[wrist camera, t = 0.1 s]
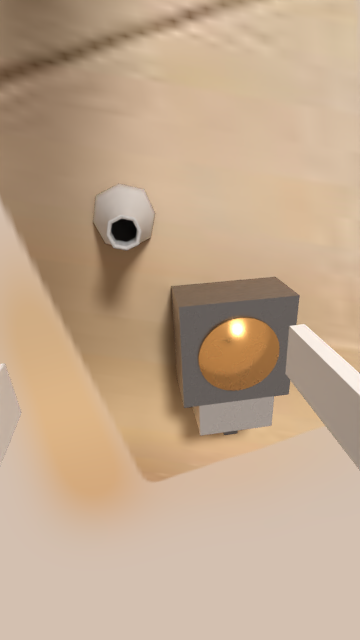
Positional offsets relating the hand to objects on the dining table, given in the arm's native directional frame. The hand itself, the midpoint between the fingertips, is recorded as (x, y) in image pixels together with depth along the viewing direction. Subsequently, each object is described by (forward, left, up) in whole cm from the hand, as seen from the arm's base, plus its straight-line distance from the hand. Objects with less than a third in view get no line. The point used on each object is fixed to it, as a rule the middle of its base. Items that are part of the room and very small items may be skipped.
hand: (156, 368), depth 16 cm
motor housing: (+17, +11, -28) cm, 34 cm away
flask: (-3, -1, -28) cm, 28 cm away
